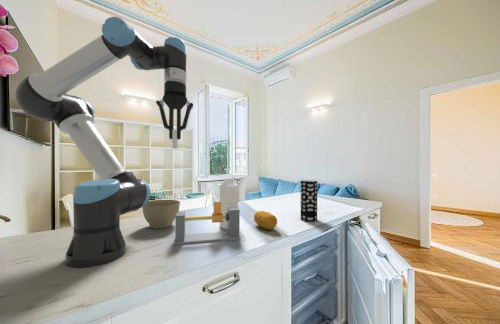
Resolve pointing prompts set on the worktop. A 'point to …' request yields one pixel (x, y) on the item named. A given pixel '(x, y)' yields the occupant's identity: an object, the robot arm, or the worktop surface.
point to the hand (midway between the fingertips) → (174, 148)
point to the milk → (228, 197)
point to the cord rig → (231, 233)
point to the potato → (265, 220)
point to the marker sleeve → (217, 213)
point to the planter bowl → (161, 212)
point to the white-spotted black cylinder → (309, 201)
